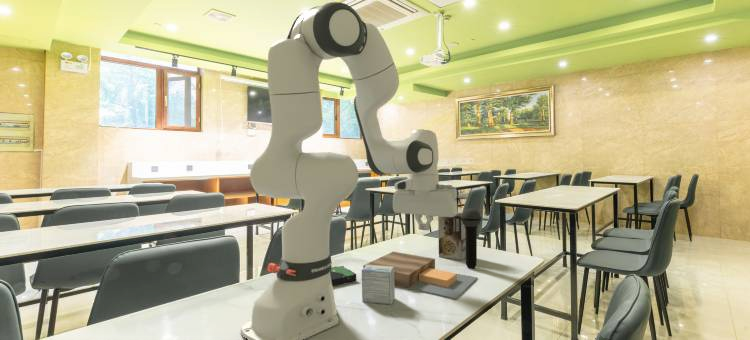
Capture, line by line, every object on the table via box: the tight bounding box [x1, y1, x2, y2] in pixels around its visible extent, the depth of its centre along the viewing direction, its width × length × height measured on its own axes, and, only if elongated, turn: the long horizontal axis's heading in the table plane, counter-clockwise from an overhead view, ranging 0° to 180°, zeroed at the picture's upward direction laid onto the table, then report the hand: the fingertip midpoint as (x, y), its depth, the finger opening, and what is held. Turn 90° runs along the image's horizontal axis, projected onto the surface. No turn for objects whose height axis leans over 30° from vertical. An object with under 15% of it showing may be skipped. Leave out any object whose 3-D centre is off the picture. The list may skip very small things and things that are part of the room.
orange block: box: [419, 268, 458, 287], centre depth 102 cm, size 7×9×2 cm
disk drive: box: [330, 265, 357, 287], centre depth 105 cm, size 10×3×15 cm
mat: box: [408, 273, 478, 300], centre depth 101 cm, size 18×14×1 cm
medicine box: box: [361, 265, 396, 305], centre depth 90 cm, size 8×4×9 cm, turn 74°
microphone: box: [461, 208, 482, 270], centre depth 114 cm, size 7×7×20 cm
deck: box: [362, 251, 436, 290], centre depth 109 cm, size 18×16×4 cm
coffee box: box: [437, 212, 466, 261], centre depth 127 cm, size 9×6×16 cm
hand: (424, 229), depth 104 cm, fingers closed
